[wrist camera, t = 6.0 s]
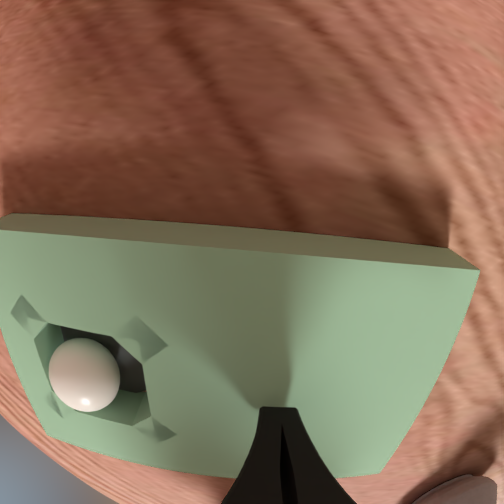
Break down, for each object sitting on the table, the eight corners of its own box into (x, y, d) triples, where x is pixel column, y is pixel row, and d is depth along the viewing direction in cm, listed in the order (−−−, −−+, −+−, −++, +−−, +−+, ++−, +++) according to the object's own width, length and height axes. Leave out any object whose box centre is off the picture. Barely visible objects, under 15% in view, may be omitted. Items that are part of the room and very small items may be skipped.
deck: (370, 443, 16) (379, 473, 14) (62, 409, 16) (47, 435, 14) (448, 248, 12) (480, 270, 10) (11, 213, 12) (-23, 228, 9)
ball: (141, 381, 14) (110, 435, 11) (88, 366, 15) (56, 412, 12) (119, 329, 13) (77, 387, 10) (64, 317, 13) (22, 363, 10)
